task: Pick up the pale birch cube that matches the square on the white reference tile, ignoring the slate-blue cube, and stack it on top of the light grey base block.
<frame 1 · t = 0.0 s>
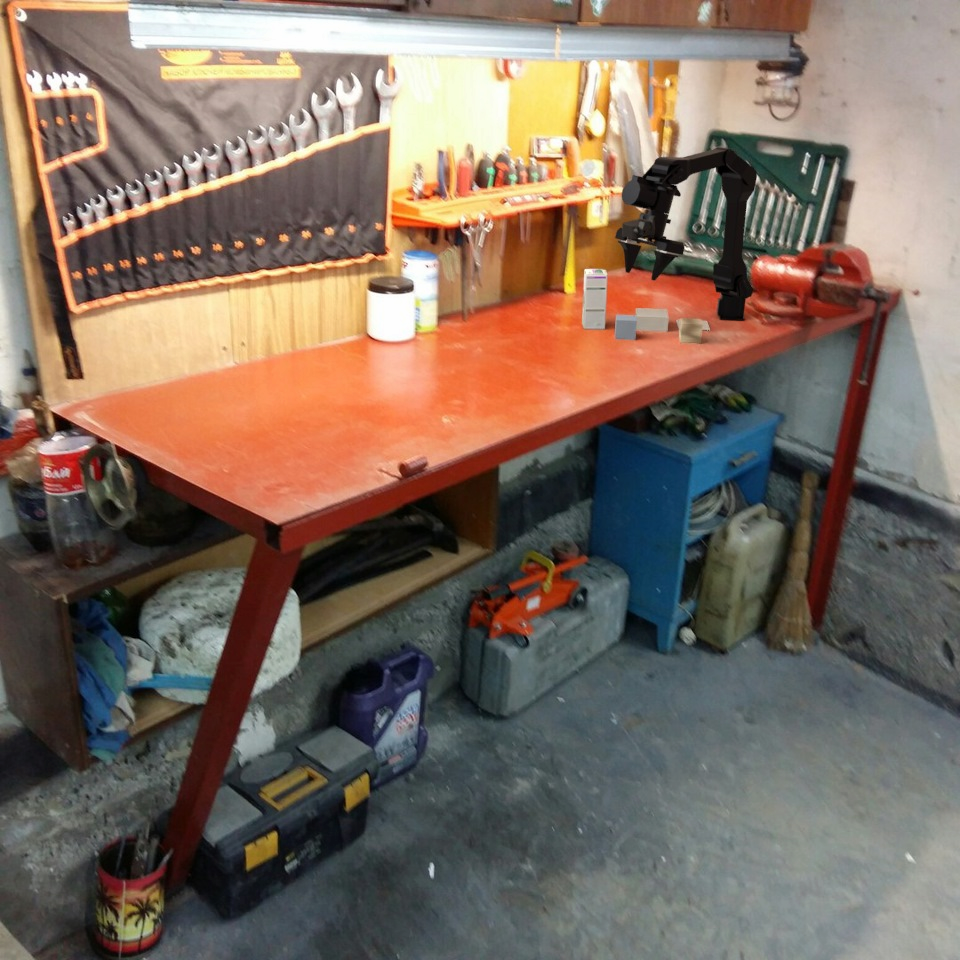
hand: (640, 276, 241), 15 cm above the table, tool pointing down, fingers open, 9 cm apart
syrup box: (592, 327, 256), on the table
birch cube: (689, 340, 246), on the table
reference tile: (692, 326, 257), on the table
slate-blue cube: (624, 337, 248), on the table
base block: (650, 327, 256), on the table
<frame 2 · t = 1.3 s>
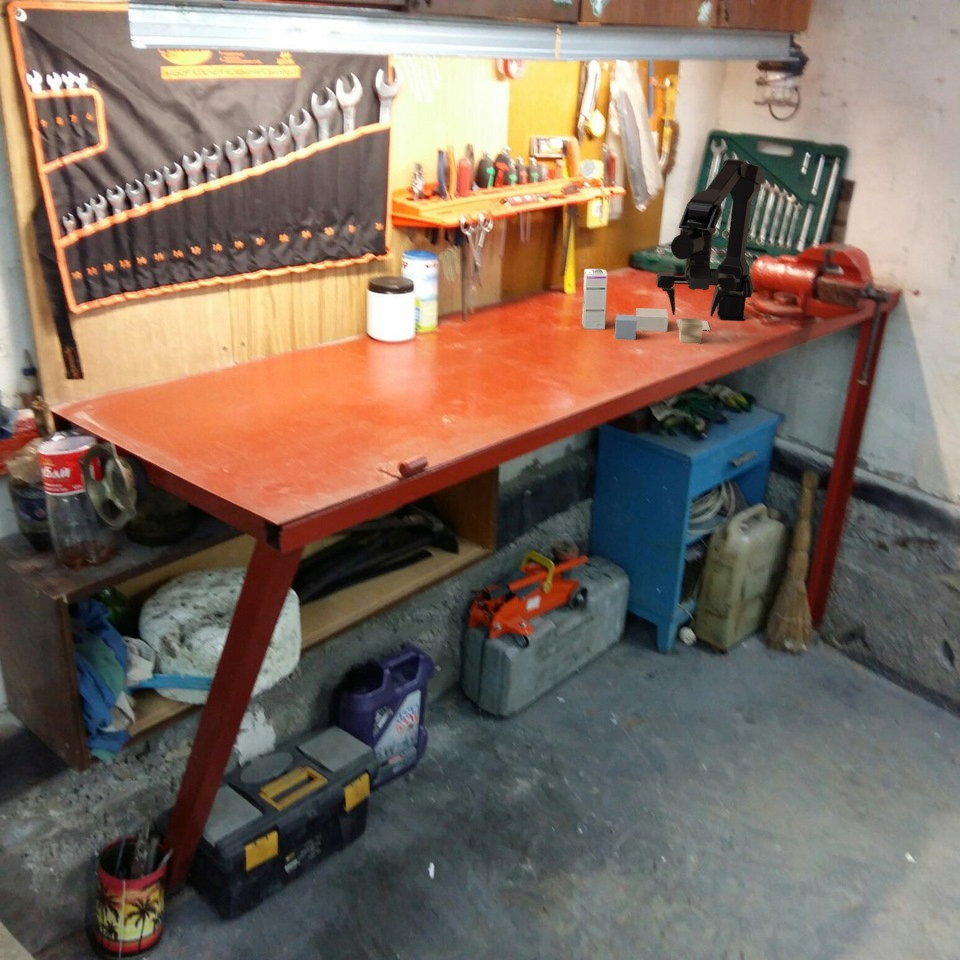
hand: (692, 315, 243), 6 cm above the table, tool pointing down, fingers open, 9 cm apart
nothing on the table moved.
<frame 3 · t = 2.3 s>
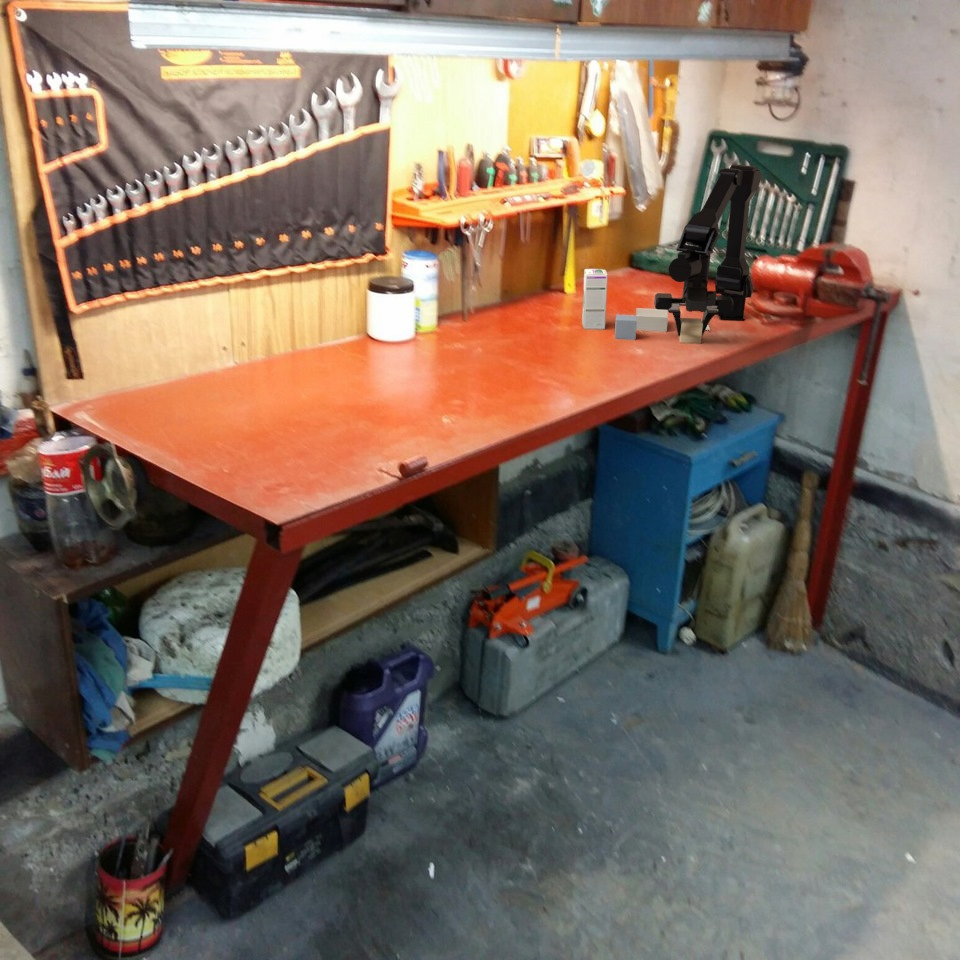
hand: (689, 336, 245), 1 cm above the table, tool pointing down, fingers closed on birch cube, 5 cm apart
birch cube: (689, 340, 246), on the table, touching gripper
everything else where it was.
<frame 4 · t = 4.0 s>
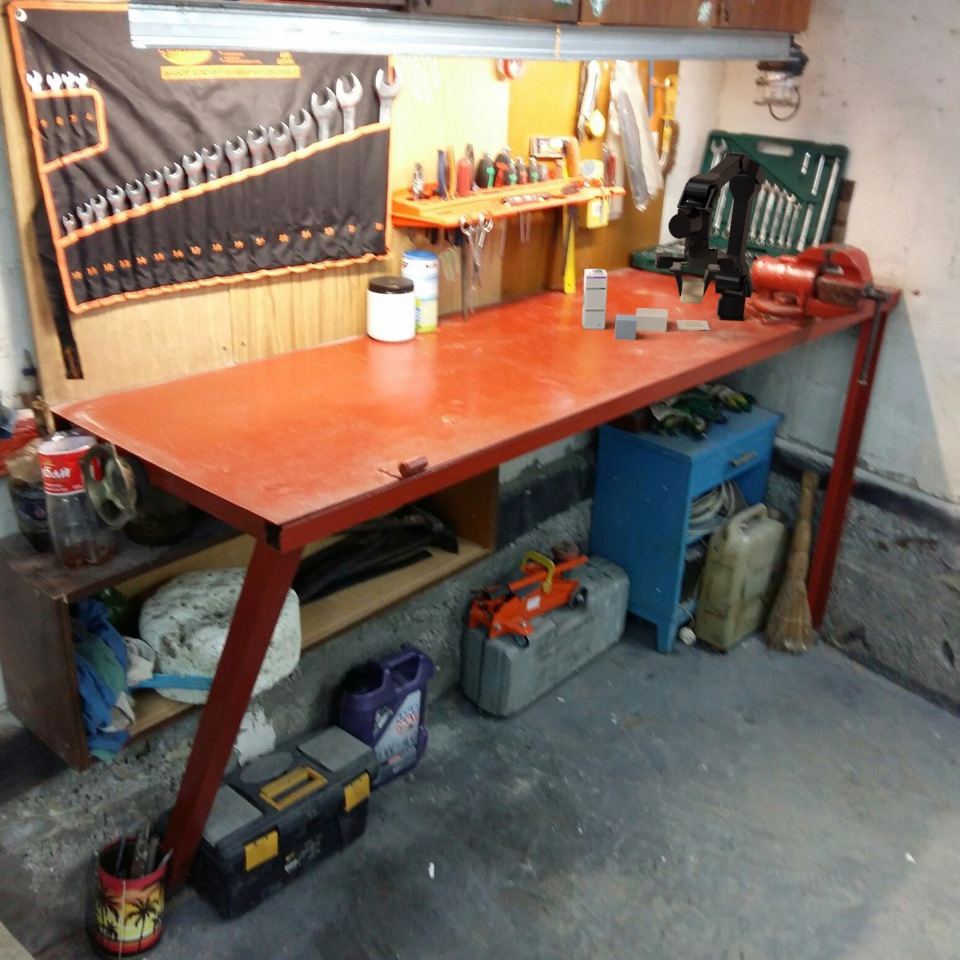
hand: (691, 296, 242), 11 cm above the table, tool pointing down, fingers closed on birch cube, 5 cm apart
birch cube: (690, 300, 242), point 10 cm above the table, touching gripper
everything else where it was.
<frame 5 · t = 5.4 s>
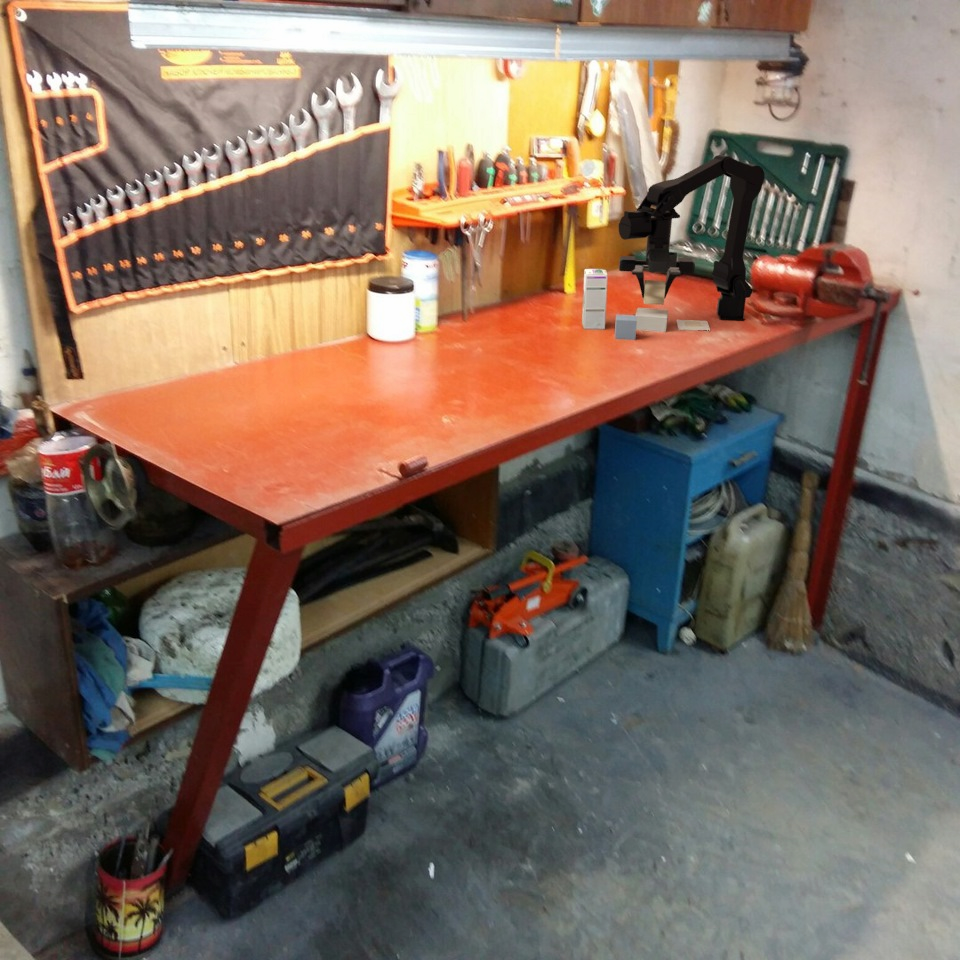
hand: (653, 297, 253), 8 cm above the table, tool pointing down, fingers closed on birch cube, 5 cm apart
birch cube: (653, 301, 254), point 7 cm above the table, touching gripper
everything else where it was.
when the fingers open (6 cm above the table, at t = 6.0 s): birch cube drops 1 cm, resting on base block.
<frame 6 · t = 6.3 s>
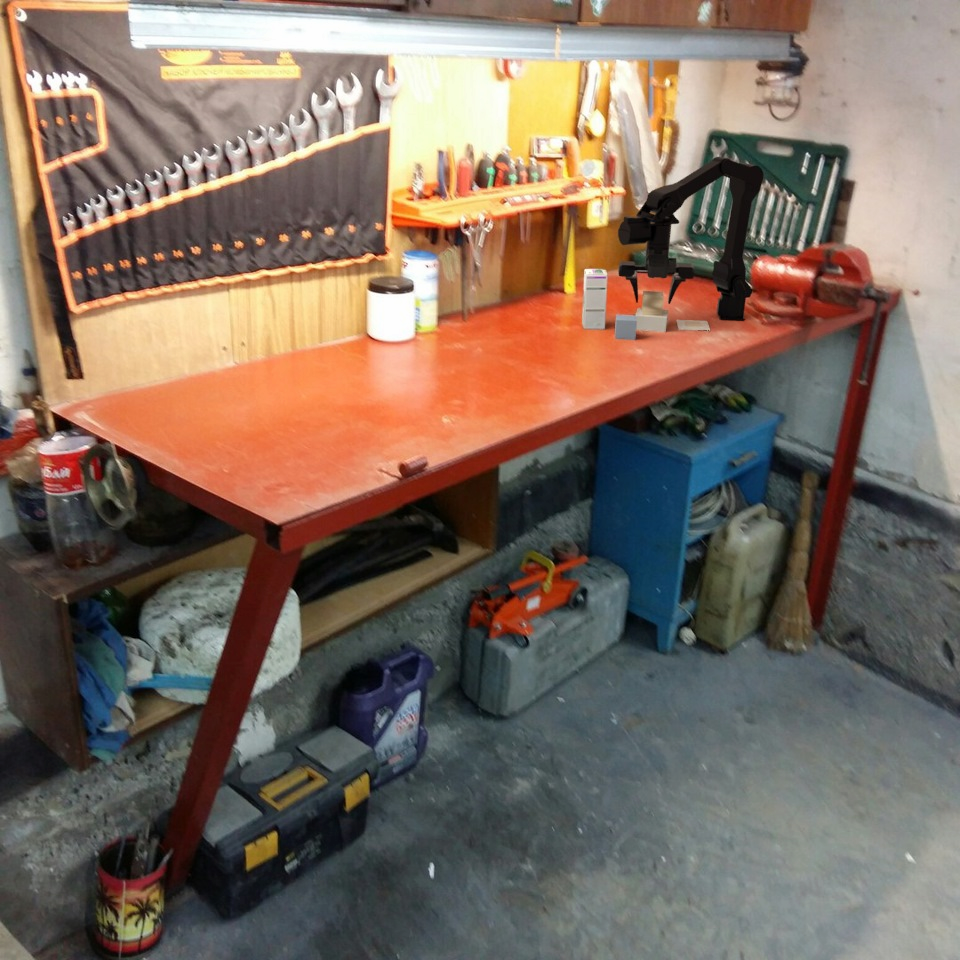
hand: (652, 303, 254), 6 cm above the table, tool pointing down, fingers open, 8 cm apart
birch cube: (651, 312, 255), point 4 cm above the table, touching base block
base block: (650, 327, 256), on the table, touching birch cube
everything else where it was.
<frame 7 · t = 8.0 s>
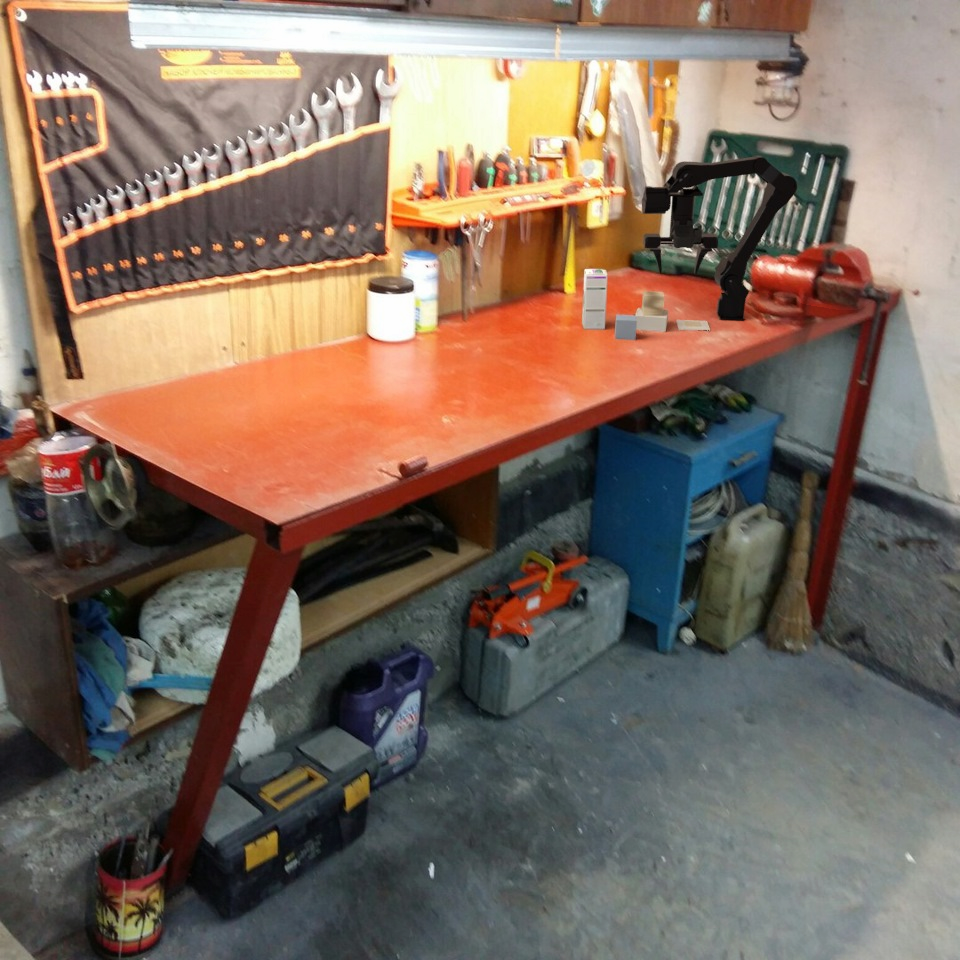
hand: (677, 273, 260), 12 cm above the table, tool pointing down, fingers open, 9 cm apart
birch cube: (652, 312, 255), point 4 cm above the table
base block: (650, 327, 257), on the table
everything else where it was.
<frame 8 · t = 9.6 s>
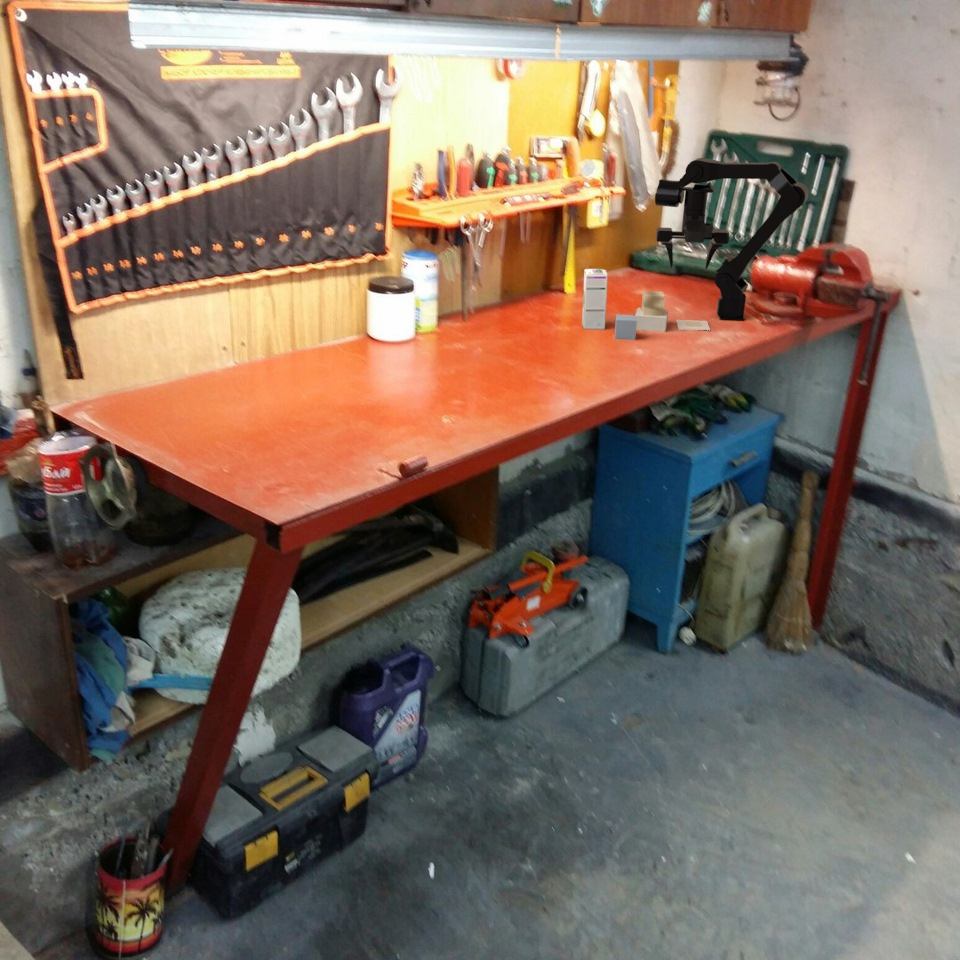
hand: (688, 267, 265), 12 cm above the table, tool pointing down, fingers open, 9 cm apart
nothing on the table moved.
at the end: birch cube 0.5 cm off-centre on the base block, point 4.0 cm above the base block's base; birch cube tilted 1°; slate-blue cube moved 0.1 cm from its start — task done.
